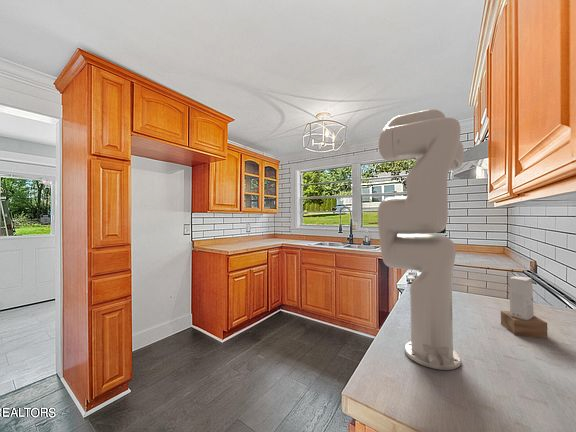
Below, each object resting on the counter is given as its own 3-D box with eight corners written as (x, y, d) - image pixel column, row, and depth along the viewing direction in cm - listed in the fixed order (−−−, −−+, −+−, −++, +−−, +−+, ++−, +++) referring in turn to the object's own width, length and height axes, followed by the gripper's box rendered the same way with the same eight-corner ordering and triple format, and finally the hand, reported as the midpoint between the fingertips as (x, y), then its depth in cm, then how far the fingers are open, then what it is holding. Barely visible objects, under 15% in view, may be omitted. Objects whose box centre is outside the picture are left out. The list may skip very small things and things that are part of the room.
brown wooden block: (547, 338, 74) (547, 322, 74) (514, 334, 77) (514, 320, 77) (530, 326, 82) (530, 313, 82) (501, 324, 84) (500, 310, 84)
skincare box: (528, 320, 76) (527, 280, 76) (509, 316, 80) (508, 277, 80) (534, 316, 79) (533, 277, 79) (515, 312, 83) (515, 275, 83)
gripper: (454, 184, 87) (455, 233, 87) (440, 189, 104) (441, 231, 103) (430, 185, 89) (431, 233, 89) (420, 190, 106) (420, 231, 106)
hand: (436, 232), depth 96 cm, fingers open, 9 cm apart
